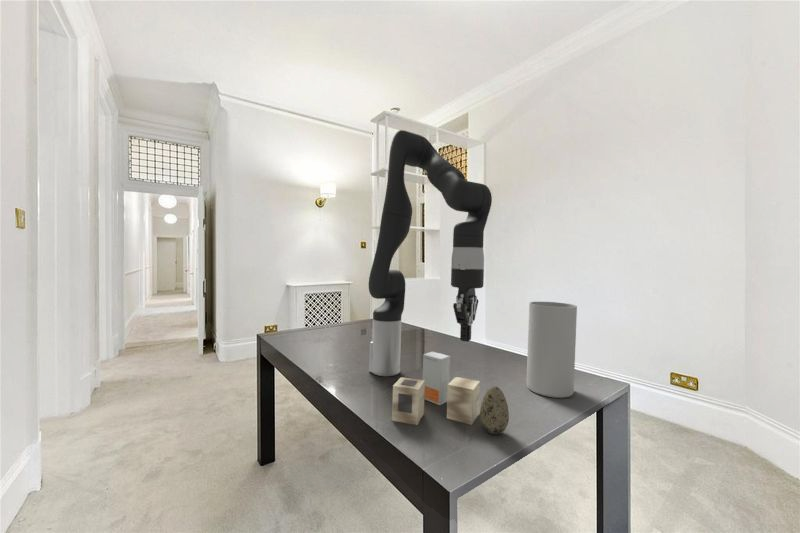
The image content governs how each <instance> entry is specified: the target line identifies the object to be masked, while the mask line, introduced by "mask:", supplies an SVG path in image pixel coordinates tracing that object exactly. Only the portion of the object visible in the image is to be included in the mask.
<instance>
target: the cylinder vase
mask: <svg viewBox="0 0 800 533" xmlns="http://www.w3.org/2000/svg"><path fill="white" fill-rule="evenodd" d="M577 313H578V305H576V304H571V303H566V302H565V303H563V302H556V301H530V302H529V305H528V331H527V332H528V333H527V334H528V335H527V358H526V360H527V361H526V386H527V388H528V389H529V390H530V391H531V392H533V393H535V394H537V395H540V396H543V397H548V398H554V399H557V398H558V399H564V398H565V399H566V398H569V397H571V396H573V395H574V393H575V392H574V391H575V367H576V366H575V365H576V363H575V362H576V343H577V342H576V341H577V340H576V339H577V315H578V314H577Z"/></svg>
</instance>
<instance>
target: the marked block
mask: <svg viewBox="0 0 800 533" xmlns="http://www.w3.org/2000/svg"><path fill="white" fill-rule="evenodd" d="M424 391H425V380H422V379H417V378H410V377H405V376H403V377H400V378H398V380H397V381H396V382H395V383H394V384H393V385H392V406H391V407H392V408H391V410H392V411H391V413H392V414H391V421H392V422H397V423H403V424H404V423H405V424H408V425H414V424H415V425H414V426H418V425H419V424H420V421H421V420H420V419H422V418H423V416H424V414H425V399H424ZM421 417H422V418H421Z"/></svg>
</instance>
